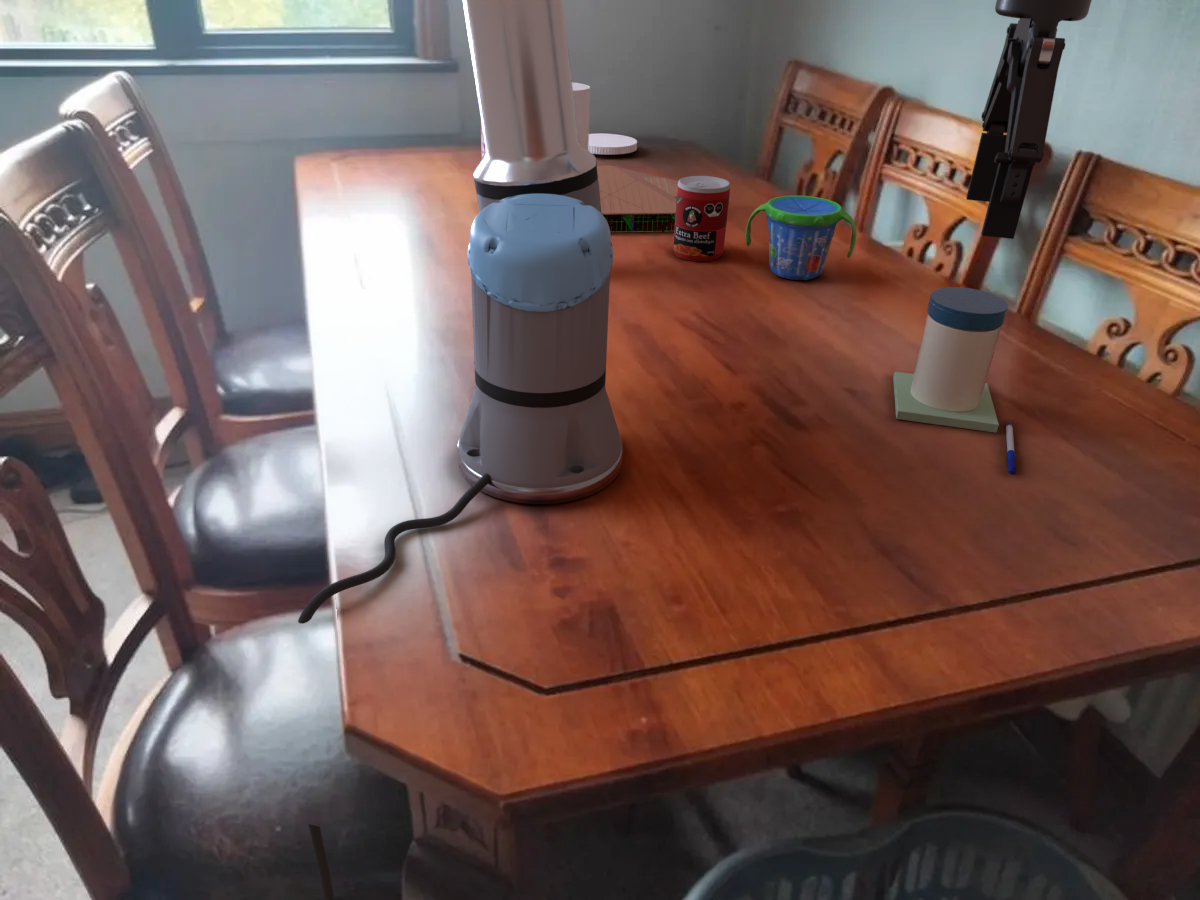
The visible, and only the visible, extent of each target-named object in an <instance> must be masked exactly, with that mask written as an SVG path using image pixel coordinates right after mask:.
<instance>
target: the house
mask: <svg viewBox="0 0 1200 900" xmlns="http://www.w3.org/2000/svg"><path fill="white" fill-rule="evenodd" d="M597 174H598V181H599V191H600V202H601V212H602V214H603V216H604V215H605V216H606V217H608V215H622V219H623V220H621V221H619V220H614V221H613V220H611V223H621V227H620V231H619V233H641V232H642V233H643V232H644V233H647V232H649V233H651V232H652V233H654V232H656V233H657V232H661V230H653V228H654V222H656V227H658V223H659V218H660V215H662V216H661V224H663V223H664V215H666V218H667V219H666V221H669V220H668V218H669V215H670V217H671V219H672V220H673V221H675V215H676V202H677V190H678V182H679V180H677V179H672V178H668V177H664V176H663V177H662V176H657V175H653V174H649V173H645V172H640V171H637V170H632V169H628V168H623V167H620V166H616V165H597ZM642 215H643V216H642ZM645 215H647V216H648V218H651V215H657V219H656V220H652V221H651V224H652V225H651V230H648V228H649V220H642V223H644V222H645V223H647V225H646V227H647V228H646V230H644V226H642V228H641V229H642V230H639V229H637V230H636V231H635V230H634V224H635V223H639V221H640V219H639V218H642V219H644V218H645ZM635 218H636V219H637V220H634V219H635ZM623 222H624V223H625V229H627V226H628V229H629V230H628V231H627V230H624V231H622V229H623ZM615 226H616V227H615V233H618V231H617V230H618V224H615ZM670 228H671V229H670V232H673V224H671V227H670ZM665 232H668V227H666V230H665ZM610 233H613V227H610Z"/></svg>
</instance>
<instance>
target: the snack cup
mask: <svg viewBox="0 0 1200 900" xmlns="http://www.w3.org/2000/svg"><path fill="white" fill-rule="evenodd" d="M762 211H763V212H765V216H766V223H767V229H768V251H769V254H768V255H769V256H768V257H769V259H768V261H769V269H770V270H771V272H772V273H773V274H774V275H776V276H777V277H779V278H784V279H785V280H794V281H795V280H796V281H797V280H801V281H808V280H812V279H815V278H817V277H819V276H821V275H822V272H823V270H824V268H825V267H824V266H825V264H826V260H827V256H828V254H829V251H830V248H831V243H832V240H833V238H834V234H835V230H836V227H837V224H838V223H839V222H840V221H841V220H844V221H845V222H847V223H848V224H850V227H851V236H850V237H851V238H850V243H849V244H850V245H849V251H848V252H847V254H846V257H847V259H850V258H851V256H852V254H853V251H854V249H855V245H856V240H857V225H856V223H855V220H854V219H853V217H852V216H851V215H850V213H848V212H847V211H846V210H844V209H843V207H842V206H841V205H840V204H839V203H837V202H836V201H834V200H830V199H827V198H822V197H819V196H818V197H817V196H811V195H782V196H776V197H773V198H770V199H769V200H768V201H767V202H765V203H763V204H760V205H758V206H757V208H756V209H754V210H753V212H752V213H751V214H750V216H749V218H748V221H747V224H746V228H745V244H746V246H747V247H749V246H750V245H751V244H752V238H751V233H752V232H751V231H752V230H751V229H752V227H751V226H752V225H751V224H752V221H753V220H754V218H755V217H756V215H758V214H759V213H760V212H762Z"/></svg>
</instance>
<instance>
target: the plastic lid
mask: <svg viewBox="0 0 1200 900" xmlns="http://www.w3.org/2000/svg"><path fill="white" fill-rule="evenodd" d="M637 150H638V140H637V139H636V138H634V137H631V136H628V135H623V134H616V133H599V132H598V133H589V145H588V151H589V152H590V153H592V154H593V155H608V156H609V155H610V156H611V155H612V156H613V155H614V156H615V155H625V154H631V153H633V152H636V151H637Z"/></svg>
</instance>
